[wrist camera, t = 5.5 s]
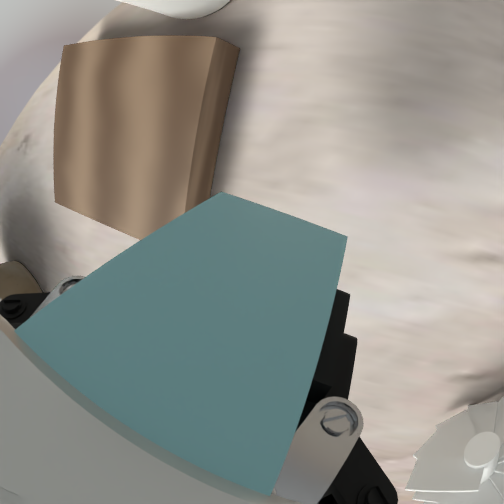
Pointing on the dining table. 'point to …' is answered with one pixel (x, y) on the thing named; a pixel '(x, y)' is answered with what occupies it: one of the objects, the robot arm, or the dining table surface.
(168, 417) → the teal carton
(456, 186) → the dining table surface
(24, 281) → the plant pot
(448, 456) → the spiral staircase
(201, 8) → the pill bottle
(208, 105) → the wavy brown panel
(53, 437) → the robot arm
